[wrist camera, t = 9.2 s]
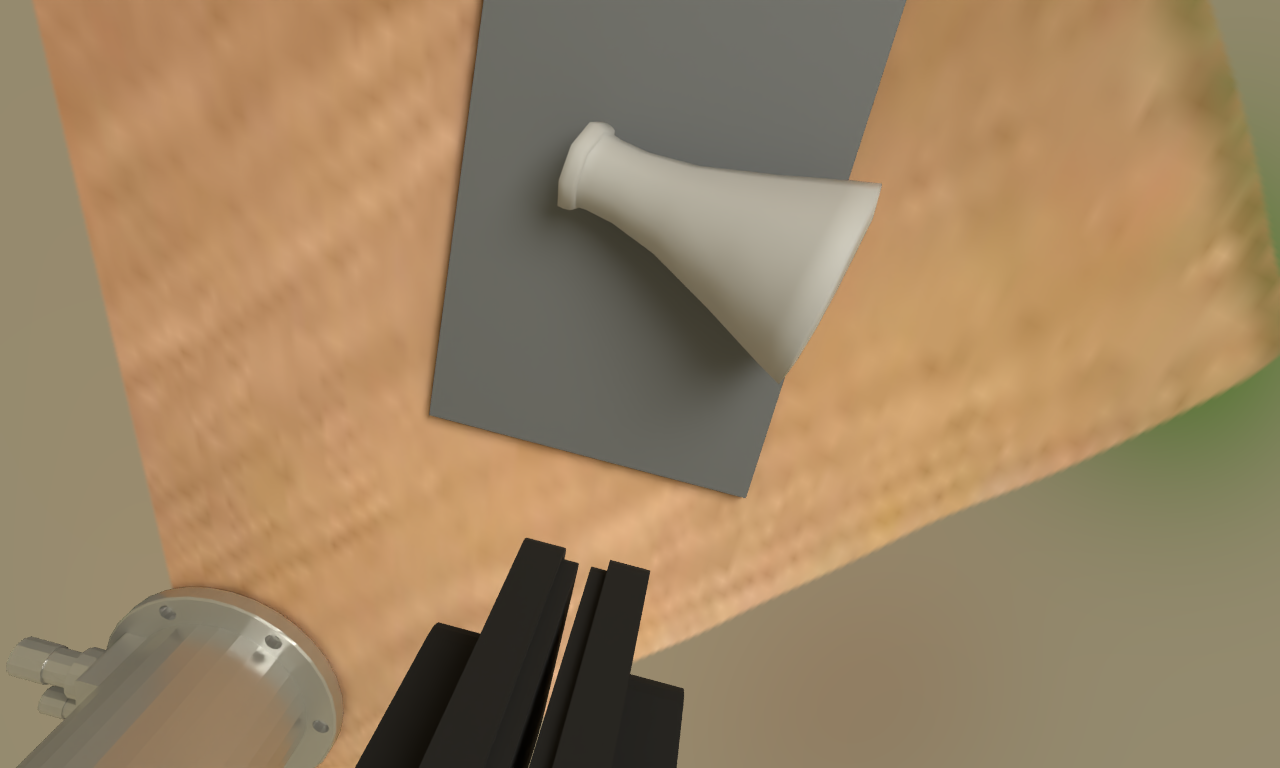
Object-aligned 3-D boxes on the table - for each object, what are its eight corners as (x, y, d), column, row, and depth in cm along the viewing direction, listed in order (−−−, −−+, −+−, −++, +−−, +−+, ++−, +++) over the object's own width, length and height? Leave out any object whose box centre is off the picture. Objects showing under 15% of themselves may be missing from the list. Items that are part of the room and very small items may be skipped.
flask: (768, 422, 28) (510, 290, 29) (821, 315, 33) (600, 208, 34) (863, 246, 23) (548, 98, 24) (907, 154, 28) (646, 37, 29)
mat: (433, 410, 36) (429, 415, 36) (502, -108, 28) (497, -111, 28) (745, 492, 36) (745, 498, 35) (907, -11, 28) (909, -12, 27)
